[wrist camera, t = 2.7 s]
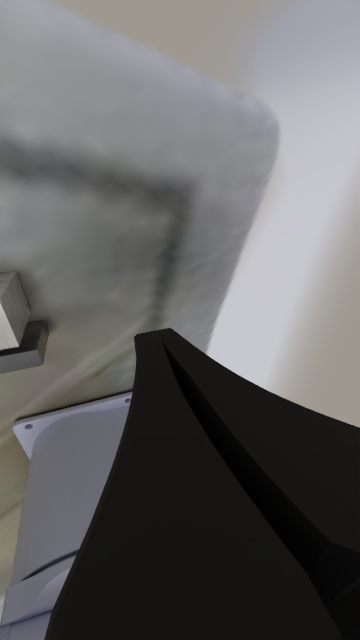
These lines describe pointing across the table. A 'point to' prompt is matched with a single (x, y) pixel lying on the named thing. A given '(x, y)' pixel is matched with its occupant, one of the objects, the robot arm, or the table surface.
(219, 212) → the table surface
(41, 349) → the bracket
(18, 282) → the bar
